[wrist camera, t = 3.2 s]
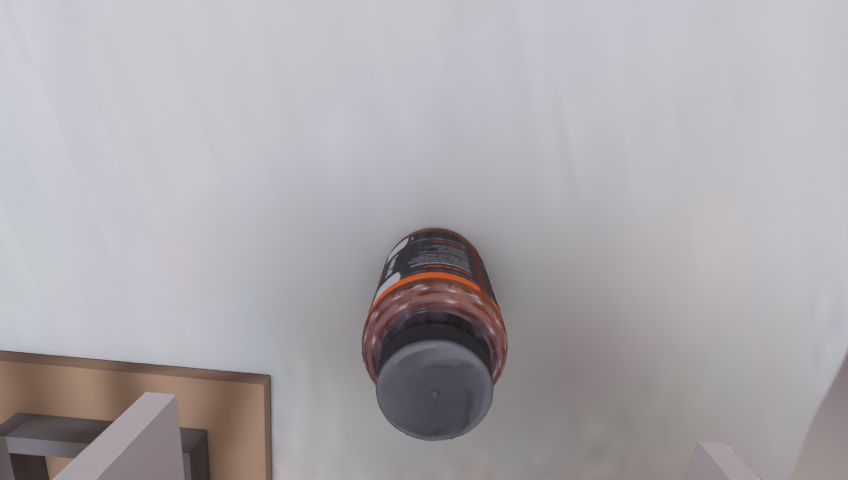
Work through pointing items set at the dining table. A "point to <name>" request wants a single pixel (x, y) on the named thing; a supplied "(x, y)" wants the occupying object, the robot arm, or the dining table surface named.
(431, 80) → the dining table surface
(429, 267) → the supplement bottle
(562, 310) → the dining table surface
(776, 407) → the dining table surface
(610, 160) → the dining table surface
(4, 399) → the holder board
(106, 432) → the robot arm
